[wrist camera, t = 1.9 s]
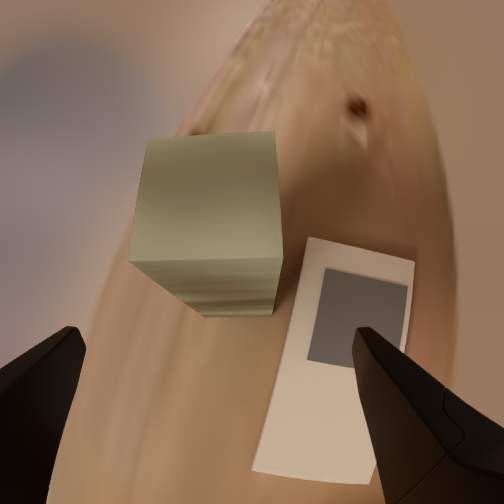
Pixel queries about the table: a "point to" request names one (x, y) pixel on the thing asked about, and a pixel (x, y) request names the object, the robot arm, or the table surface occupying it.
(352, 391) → the baseplate
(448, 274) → the table surface
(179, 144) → the post
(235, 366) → the table surface
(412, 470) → the robot arm
